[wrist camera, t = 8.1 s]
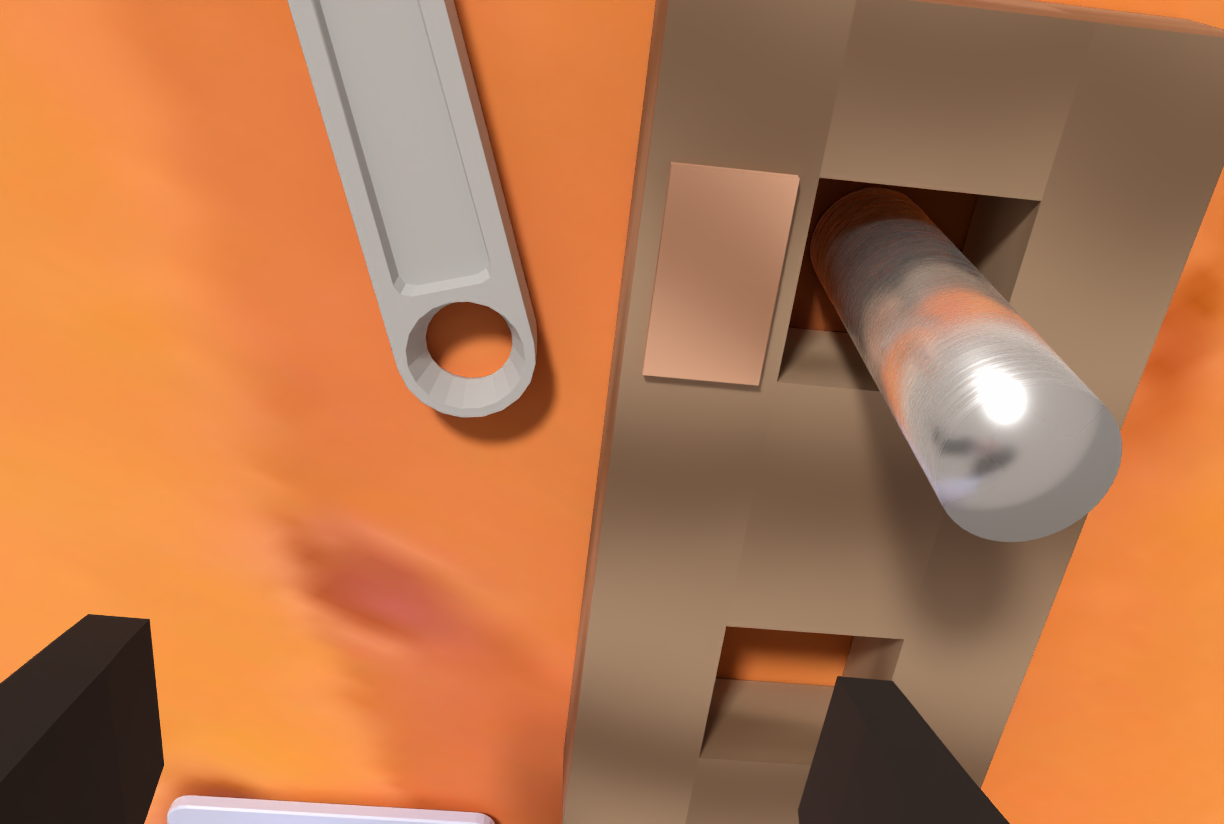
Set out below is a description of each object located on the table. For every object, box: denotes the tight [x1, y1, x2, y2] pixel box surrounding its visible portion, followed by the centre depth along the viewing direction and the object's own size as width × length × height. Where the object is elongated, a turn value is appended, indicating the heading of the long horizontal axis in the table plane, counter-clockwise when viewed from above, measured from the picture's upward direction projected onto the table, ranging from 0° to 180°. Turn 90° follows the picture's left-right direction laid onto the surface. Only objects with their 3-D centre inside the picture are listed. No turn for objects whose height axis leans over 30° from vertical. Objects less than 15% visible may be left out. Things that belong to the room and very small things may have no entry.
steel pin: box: [810, 187, 1122, 542], centre depth 16 cm, size 2×2×8 cm
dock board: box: [562, 0, 1224, 824], centre depth 20 cm, size 18×9×3 cm, turn 173°
